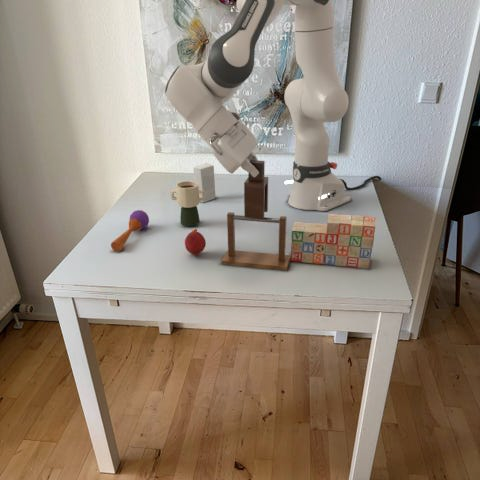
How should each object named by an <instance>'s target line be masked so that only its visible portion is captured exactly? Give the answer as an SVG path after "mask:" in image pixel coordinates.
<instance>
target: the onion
mask: <svg viewBox="0 0 480 480" xmlns="http://www.w3.org/2000/svg"><path fill="white" fill-rule="evenodd" d="M206 246H207V243H206V238H205V237H204V235H203V234H202V233H200V232H199V231H198V229H197V228H193V229H192V231H191V232H189V233H188V234H187V236H186V237H185V239H184V247H185V249H186V251H187V253H190V254H191V255H194V256H199V254H201V253H202V252H203V251H205V248H206Z"/></svg>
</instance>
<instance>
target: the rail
mask: <svg viewBox="0 0 480 480" xmlns="http://www.w3.org/2000/svg"><path fill="white" fill-rule="evenodd" d="M235 220H236V221H244V222H245V221H246V222H256V223H257V222H259V223H271V224H278V226H279V227H278V253H271V252H269V253H268V252H260V251H259V252H257V251H248V250H236V227H235V226H236V225H235V223H236V222H235ZM226 223H227V225H226V226H227V251H226V252H225V254H224V256H223V257H222V259H221V265H223V266H224V265H226V266H234V267H245V268H255V269H265V270H274V271H286V272H288V268H289V265H290V262H291V254H286V245H287V216H281V215H280V217H279V218H277V217H267V216H266V217H265V216H264V219H261V218H249V217H245V216H244V215H239V214H235V212H231V211H228V212H227V214H226Z"/></svg>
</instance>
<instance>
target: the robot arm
mask: <svg viewBox="0 0 480 480" xmlns="http://www.w3.org/2000/svg"><path fill="white" fill-rule="evenodd" d="M235 5H236V9H237V12H238V15H237V17H236V18H235V21H234V23H233V24H232V26H231V28H230V29H229V30H228V31H227V32H226V33H224V34H223V35H220V37H218V38H217V39H216V40H215V41H214V43H213V44H212V46H211V48H210V50H209V53H208V55H207V58H206V59H205V61H203V62H201V63H198V64H192V65H184V64H180V65H178V66H177V67H176V68H175V69H174V71H173V72H172V74H171V75H170V77H169V78H168V80H167V82H166V85H165V88H164V94H165V96H166V98H167V100H168V101H169V103H170V104H171V105H172V107H173V108H174V109H175V110H176V112H177V113H178V114H179V115H180V116H181V117H182V118H183V119H184V121H186V122H187V123H189V124H191V126H192V127H193V128H194V130H195V131H196V133H197V134H198V136H199V137H200V138H201V139H202V140H203V141H204V142H205V143H206V144H207V145H208V146H209V147H210V149H211V153H212V155H213V156H214V157H215V159H216V160H217V161H218V163H219V164H220V165H221V166H222V167H223V168H224V170H226V171H227V172H228V173H229V174H234V173H235V172H236V171H237V170H238V169H239V168H241V169H242V170H244V171H245V172H247V173H248V172H249V173H250V174H251V175H252V176H253V177H256V176H257V175H258V174H259V172H260V170H259V169H258V168H257V167H256V166H255V167H254V166H253V165H252V164H251V163H250V160H258V161H259V159H258V158H257V155H256V154H255V153H254V152H253V151H255V149H256V148H257V147H258V146H259V142H258V140H257V138H256V137H255V136H254V134H253V133H252V132H251V130H250V129H249V128H248V127H247V126H246V124H245V123H244V122H242V121H241V120H242V118H241V116H240V115H239V114H238V113H237V112H234V111H230V110H228V109H227V108H226V107H225V106H224V104H225V103H227V102H229V101H230V100H231V99H232V98H233V97H234V95H235V94H236V93H237V92H238V90H239V89H240V88H241V86H242V85H243V83H245V81H247V79H248V78H249V77H250V76H251V75H252V72H253V71H254V66H255V55H256V54H255V52H256V46H257V43H258V41H259V38H260V36H261V34H262V32H263V30H264V29H266V28H268V27H269V26H270V25H271V24H272V23H273V22H274V21H275V20H276V18H277V16H278V15H279V14H280V12H281V10H282V8H283V6H295V9H294V10H295V11H294V12H295V13H294V41H295V42H294V43H295V45H294V47H295V60H296V63H297V66H298V67H299V68H300V70H301V72H302V74H303V77H302V78H296V79H293V80H292V81H290V82H289V83H288V85H287V86H286V87H285V90H284V96H283V97H284V104H285V105H286V108H288V111H289V113H290V114H289V115H290V117H291V122H292V125H293V132H294V161H293V163H292V179H290V180H285V181H284V184H285V185H288V184H289V185H290V184H291V189H290V194H289V198H288V201H287V203H288V205H289V206H291V207H292V208H295V209H298V210H303V211H304V210H305V211H319V212H327V211H330V210H332V209H334V208H337V207H339V206H341V205H344V204H347V203H348V202H351V200H352V199H351V196H350V195H349V194H347V193H346V192H345V190H347V191H354V190H358V189H361V188H363V187H365V186H366V185H367V183H368V182H369V181H370V182H371V181H372V180H374V179H378V180H380V181H381V180H382V178H381V176H379V175H374V176H371V177H369V178H367V179H365V180H364V181H363V183H362V184H360V185H357V186H354V187H348V184H347V182H346V181H345V179H342V178H340V177H338V176H337V175H335V174H334V173H333V172H332V170H336V169H337V168H338V162H334V161H331V162H330V161H329V153H330V143H331V142H330V136H329V134H328V132H327V130H326V128H325V125H324V123H336V122H338V121H340V120H342V118H343V117H344V116H345V115H346V113H347V112H348V109H349V95H348V93H347V92H346V90H345V89H344V87H343V85H342V83H341V81H340V78H339V74H338V70H337V66H336V60H335V52H334V49H335V47H334V45H335V44H334V9H333V1H332V0H236V3H235Z"/></svg>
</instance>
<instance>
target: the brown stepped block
mask: <svg viewBox="0 0 480 480" xmlns="http://www.w3.org/2000/svg"><path fill="white" fill-rule="evenodd" d="M250 163H251V164H252V165H253V166H254V167H255V166H256V167H257V168H258V169H259V170H260V172H259V174H258V175H257V176H256V177H253V176H252V175H251V174H250V173H249V172H247V173H248V177H247V178H246V180H245V181H244V182H243V192H244V193H243V196H244V197H243V201H244V203H243V204H244V213H243V214H244V215H243V216H245V217H249V218H261V219H264V217H265V213H268V211H269V177H268V176H265V164H266V163H265V160H259V159H258V160H250Z"/></svg>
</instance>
